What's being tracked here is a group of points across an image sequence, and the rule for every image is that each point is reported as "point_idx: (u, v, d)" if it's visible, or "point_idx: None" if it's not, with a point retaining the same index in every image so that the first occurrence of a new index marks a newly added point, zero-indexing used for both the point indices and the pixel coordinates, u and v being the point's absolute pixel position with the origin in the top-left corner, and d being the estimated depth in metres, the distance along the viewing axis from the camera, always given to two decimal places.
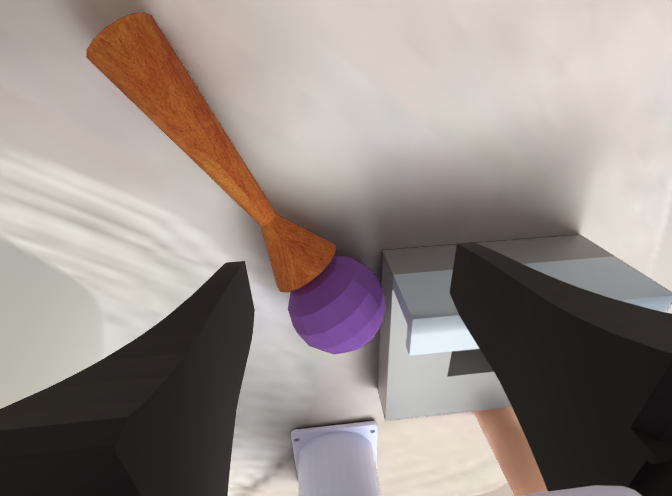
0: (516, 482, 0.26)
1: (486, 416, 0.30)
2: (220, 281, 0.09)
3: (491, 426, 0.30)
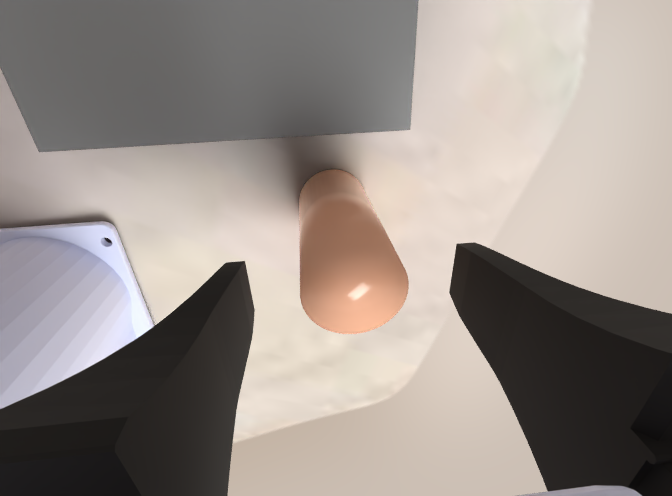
0: (302, 262, 0.11)
1: (304, 197, 0.16)
2: (220, 281, 0.09)
3: (304, 204, 0.15)
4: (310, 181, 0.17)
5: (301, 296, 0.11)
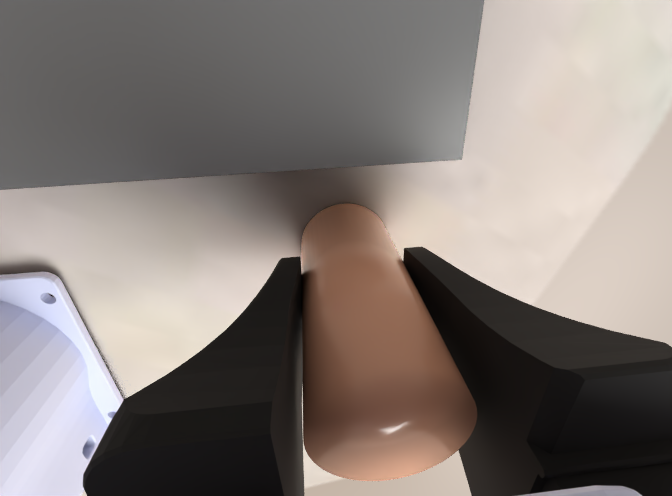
0: (306, 374, 0.07)
1: (308, 245, 0.12)
2: (285, 275, 0.09)
3: (309, 257, 0.11)
4: (316, 220, 0.13)
5: (305, 441, 0.07)
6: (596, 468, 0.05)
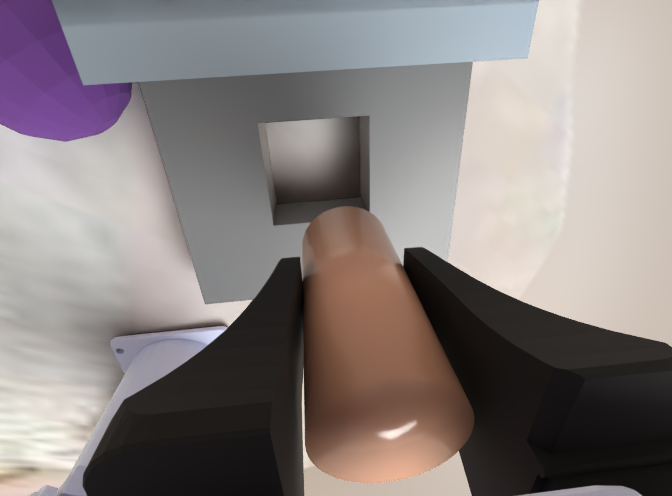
0: (307, 384, 0.08)
1: (307, 250, 0.12)
2: (285, 275, 0.09)
3: (308, 264, 0.11)
4: (314, 225, 0.13)
5: (307, 449, 0.07)
6: (596, 468, 0.05)
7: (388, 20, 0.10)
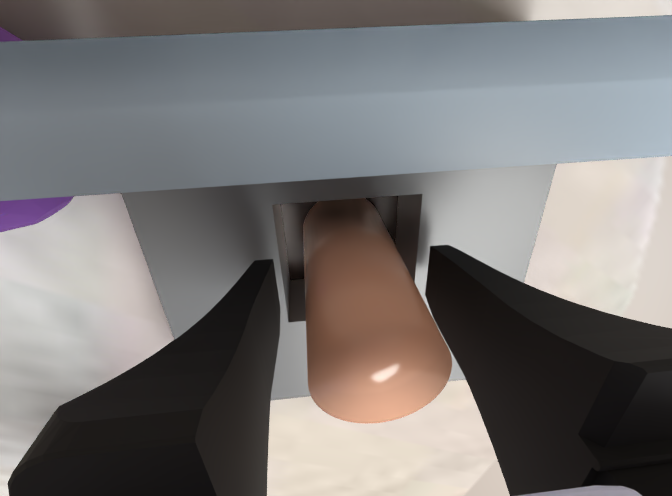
0: (309, 336, 0.09)
1: (308, 232, 0.13)
2: (253, 278, 0.09)
3: (309, 242, 0.12)
4: (314, 210, 0.14)
5: (310, 387, 0.08)
6: (650, 461, 0.05)
7: (497, 102, 0.06)
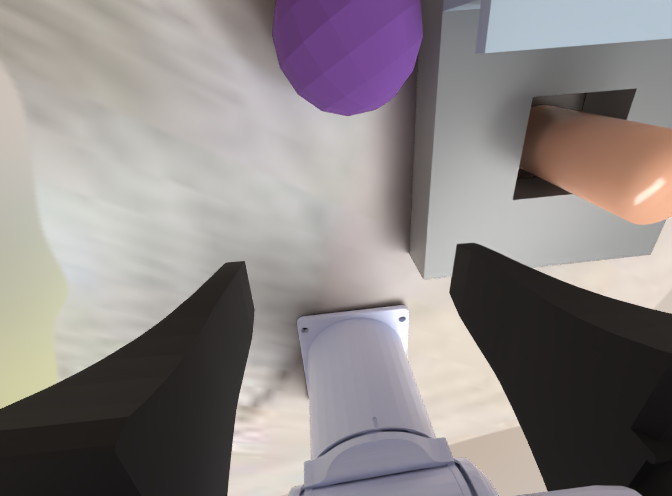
0: (605, 163, 0.13)
1: (530, 129, 0.18)
2: (220, 281, 0.09)
3: (542, 131, 0.17)
4: None
5: (621, 187, 0.13)
6: None
7: None
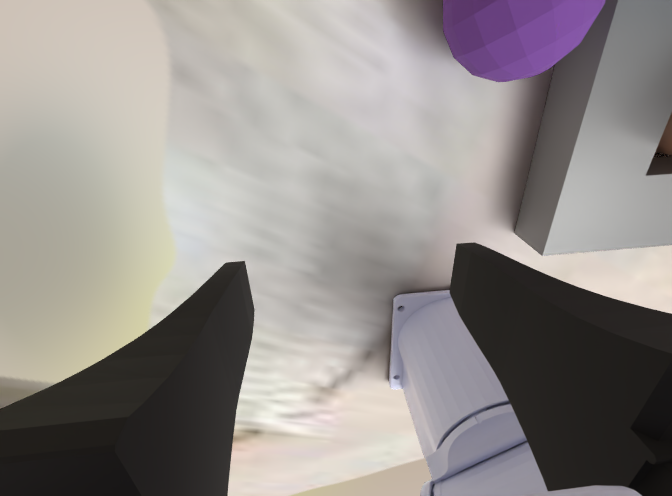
0: None
1: None
2: (220, 281, 0.09)
3: None
4: None
5: None
6: None
7: None
